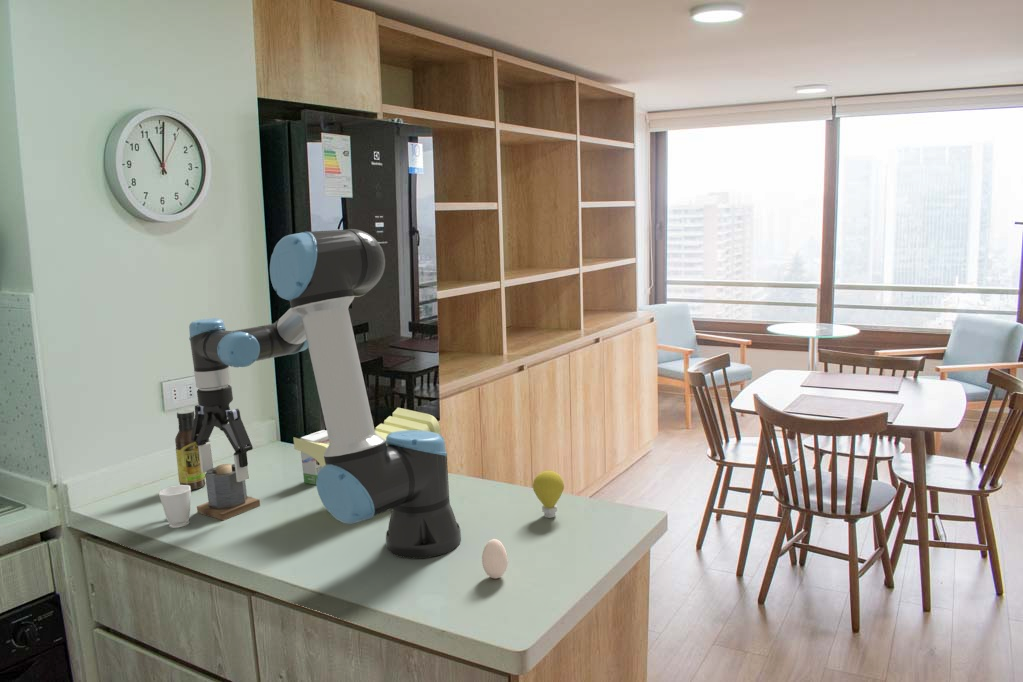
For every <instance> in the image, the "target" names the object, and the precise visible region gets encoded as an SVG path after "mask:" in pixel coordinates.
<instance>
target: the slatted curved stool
mask: <svg viewBox="0 0 1023 682" xmlns="http://www.w3.org/2000/svg"><path fill="white" fill-rule="evenodd" d="M374 429H375V433H376V434H377V435H379V436H381V437H382V438H384V439H385V441H386V437H387V435H388V434H390V433H392V432H397V431H406V430H419V431H429V432H434V433H437V434H439V435H441V436H442V429H441V425H440V423H439V421H438V419H437V418H436V417H435V416H434V415H431V414H429V413H425V412H421V411H415V410H411V409H408V408H407V409H406V408H401V407H396V409H395V410H394V411H393V412H392V416H391V415H389V416H388V417H386V419H384V421H383V423H379V424H378V425H377V426H376V427H374ZM293 446H294V450H297V451H299V452H300V453H301V452H304V453H306V454H308V455H310V456H312V457H313V458H314V459H316V460H317V461H318V462H319V464H320V465H321V467H324V466H325V465H326V464H325V460H324V455H323V454H324V452H325V451H326V449H327V447H328V446H329V443H327V444H324V443H314V442H310V441H305V440H302V439H301V438H298V437H294V436H293ZM386 446H387V445H386Z"/></svg>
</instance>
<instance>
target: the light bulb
mask: <svg viewBox="0 0 1023 682" xmlns="http://www.w3.org/2000/svg"><path fill="white" fill-rule="evenodd" d="M532 489H533V492H534V494H535V495H536V498H537V499H538V500H539V501H540V503H541V504H542V506H541V509H542V511H541V512H542V513H543V514H544V515H543V516H544V517H545V518H548V519H549V518H550V519H551V518H554V517H556V512H558V505H557V503H558V501H559V500H560V498H561V496H562V494H563V492H564V489H565V483H564V480H563V478H562V476H561V475H560V474H559V473H557V472H555V471H554V470H544V471H541V472H540V473H538V474H537V475H536V476H535V478H534V479H533V484H532Z"/></svg>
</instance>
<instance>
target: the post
mask: <svg viewBox="0 0 1023 682" xmlns="http://www.w3.org/2000/svg"><path fill="white" fill-rule="evenodd" d="M216 471H217V475H218V474H227V473H230V472H232V464H231V463H222V464H219V465H217V466H216ZM260 506H261V502H260V499H258V498H255V497H252V496H248V495H247V500H246V502H245V504H243V505H240V506H237V507H235V508H231V509H222V510H216V509H213V508H210V507H209V502H208V501H207V502H205V503H203V504H202V503H201V504H199V505H197V506H196V511H197V513H198V514H201V515H204V516H207V517H211V518H214V519H218V520H221V521H226V520H228V519H230V518H232V517H235V516H238V515H240V514H243V513H245V512H247V511H250V510H253V509H255V508H257V507H260Z"/></svg>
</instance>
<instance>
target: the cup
mask: <svg viewBox="0 0 1023 682" xmlns="http://www.w3.org/2000/svg"><path fill="white" fill-rule="evenodd" d="M191 492H192V490H191V488H190V486H189V485H180V484H178V485H172V486H171V485H170V486H168V487H165V488H163V489H161V490H159V491H158V493H159V499H160V503H161V506H162V508H163V512H164V515H165V518H166V519H167V521H168V523H169V528H174V529H178V528H182V527H185V526H188V525H189V524H190V520H189V519H190V515H191V497H192V496H191Z"/></svg>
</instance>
